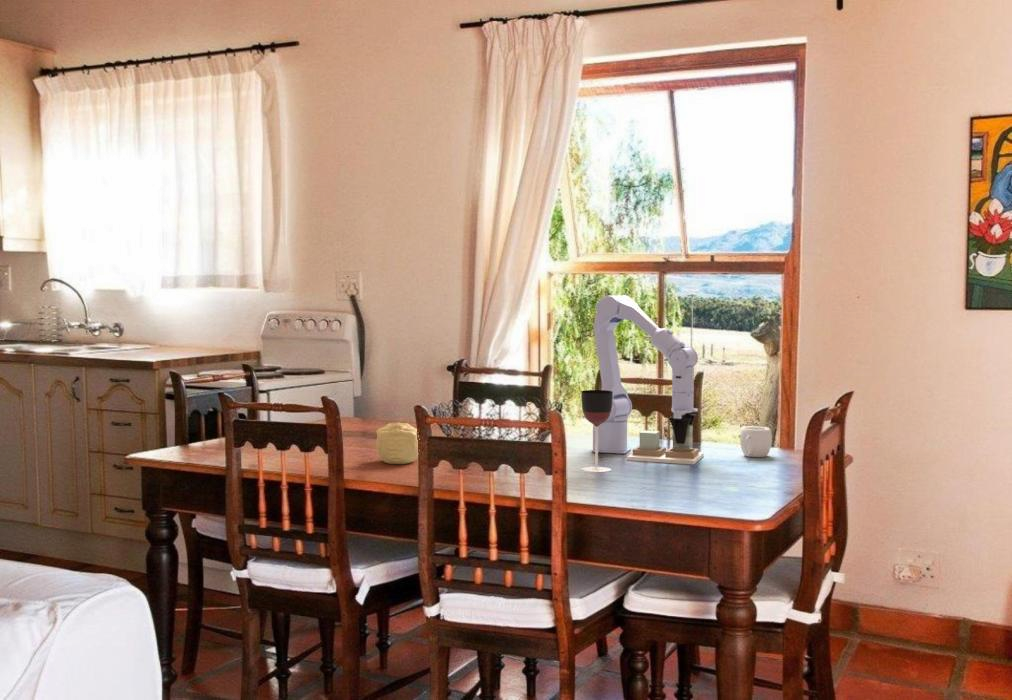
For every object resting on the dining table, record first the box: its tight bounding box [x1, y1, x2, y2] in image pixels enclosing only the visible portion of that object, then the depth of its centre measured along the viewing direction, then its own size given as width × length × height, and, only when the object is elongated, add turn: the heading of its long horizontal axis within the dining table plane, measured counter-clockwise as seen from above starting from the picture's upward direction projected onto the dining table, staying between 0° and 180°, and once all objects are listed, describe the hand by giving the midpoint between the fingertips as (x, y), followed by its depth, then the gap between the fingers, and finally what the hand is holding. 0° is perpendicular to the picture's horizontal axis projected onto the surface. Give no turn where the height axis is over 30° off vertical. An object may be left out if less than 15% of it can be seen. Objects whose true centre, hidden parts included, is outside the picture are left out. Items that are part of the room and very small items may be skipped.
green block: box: [672, 424, 694, 449], centre depth 282 cm, size 4×4×6 cm
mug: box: [739, 425, 773, 458], centre depth 286 cm, size 12×8×8 cm
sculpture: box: [375, 421, 419, 465], centre depth 277 cm, size 12×12×11 cm
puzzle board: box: [626, 430, 704, 465], centre depth 284 cm, size 18×14×7 cm
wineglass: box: [580, 389, 613, 473], centre depth 267 cm, size 8×9×20 cm
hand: (682, 442), depth 282 cm, fingers closed on green block, 4 cm apart
